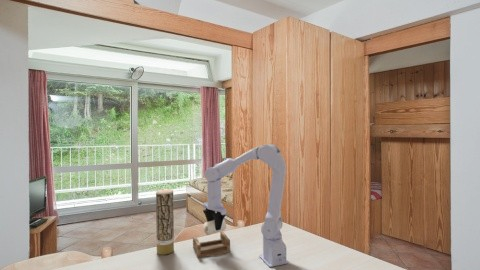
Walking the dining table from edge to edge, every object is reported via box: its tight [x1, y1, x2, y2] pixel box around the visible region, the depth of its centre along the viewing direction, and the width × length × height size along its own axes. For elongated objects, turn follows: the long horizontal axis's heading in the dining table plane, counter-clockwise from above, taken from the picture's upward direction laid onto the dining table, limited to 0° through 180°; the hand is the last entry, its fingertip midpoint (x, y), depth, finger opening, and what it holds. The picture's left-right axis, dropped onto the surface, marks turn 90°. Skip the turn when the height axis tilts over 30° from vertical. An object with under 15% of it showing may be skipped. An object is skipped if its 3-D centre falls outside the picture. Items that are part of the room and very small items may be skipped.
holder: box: [192, 231, 231, 259], centre depth 108 cm, size 10×13×5 cm
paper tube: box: [155, 188, 175, 256], centre depth 107 cm, size 7×7×25 cm
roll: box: [203, 218, 227, 236], centre depth 109 cm, size 5×8×5 cm, turn 129°
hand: (214, 227), depth 109 cm, fingers closed on roll, 5 cm apart
